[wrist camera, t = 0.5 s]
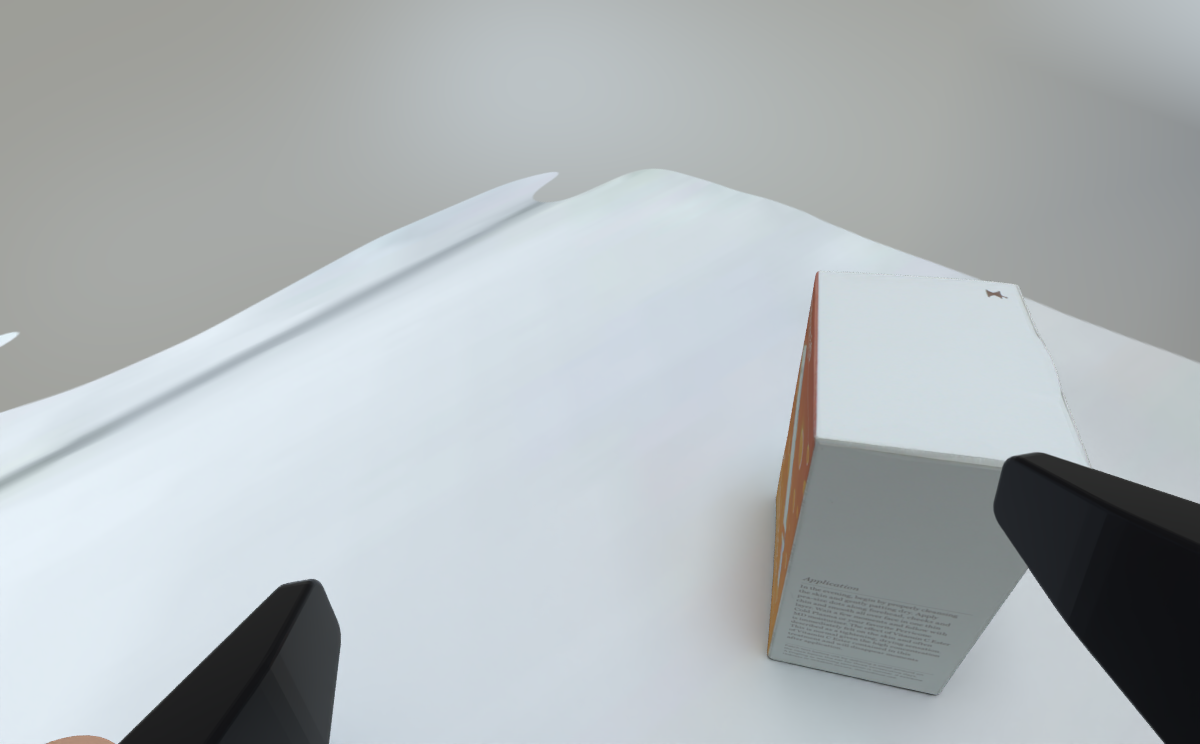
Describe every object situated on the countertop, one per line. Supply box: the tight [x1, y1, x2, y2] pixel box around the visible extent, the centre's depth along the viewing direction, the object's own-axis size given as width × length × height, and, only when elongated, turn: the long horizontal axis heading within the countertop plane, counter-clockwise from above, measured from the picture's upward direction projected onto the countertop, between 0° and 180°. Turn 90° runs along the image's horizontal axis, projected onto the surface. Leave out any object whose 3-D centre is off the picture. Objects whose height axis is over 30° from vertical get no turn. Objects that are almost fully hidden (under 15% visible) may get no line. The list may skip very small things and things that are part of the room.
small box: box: [767, 271, 1092, 695], centre depth 22 cm, size 8×6×13 cm
